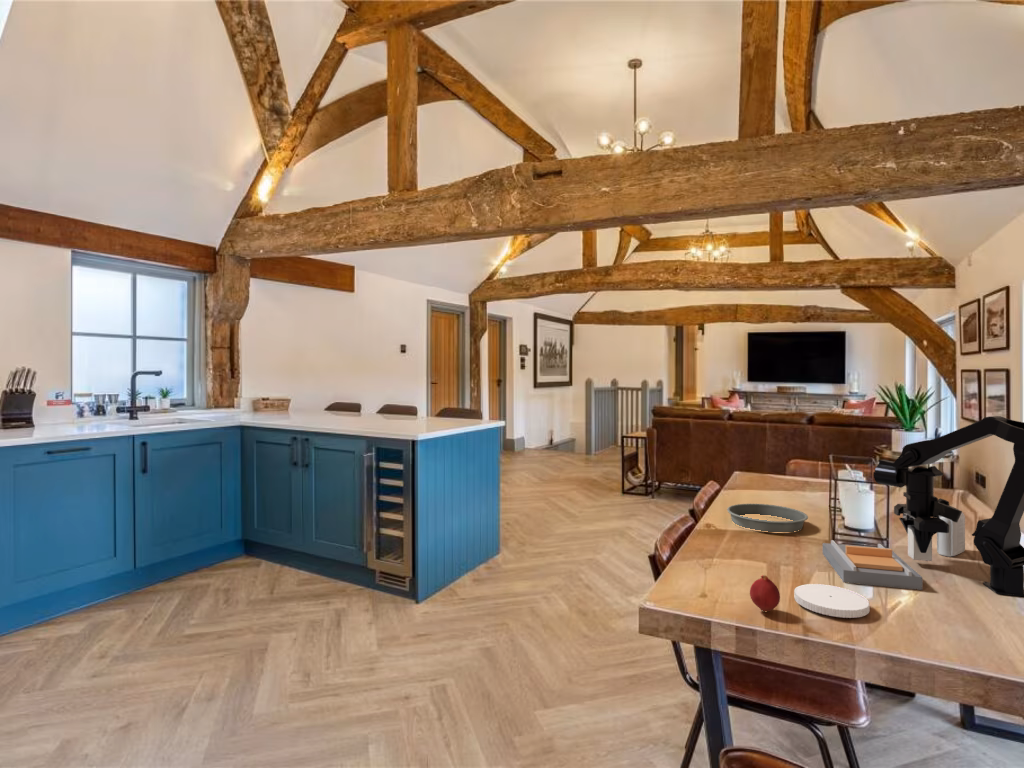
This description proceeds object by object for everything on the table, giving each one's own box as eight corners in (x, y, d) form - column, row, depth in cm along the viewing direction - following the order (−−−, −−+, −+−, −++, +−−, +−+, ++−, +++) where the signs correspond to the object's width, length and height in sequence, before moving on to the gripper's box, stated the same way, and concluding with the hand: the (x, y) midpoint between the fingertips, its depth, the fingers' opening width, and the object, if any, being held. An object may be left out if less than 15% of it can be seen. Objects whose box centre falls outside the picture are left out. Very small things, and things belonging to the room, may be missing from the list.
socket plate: (922, 590, 124) (922, 572, 124) (843, 582, 129) (843, 566, 129) (889, 559, 145) (889, 544, 145) (822, 553, 150) (822, 539, 150)
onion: (754, 603, 118) (754, 567, 118) (783, 610, 115) (782, 573, 114) (746, 612, 114) (746, 575, 114) (776, 620, 110) (776, 581, 110)
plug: (932, 561, 138) (932, 530, 138) (913, 559, 139) (913, 529, 139) (925, 556, 142) (925, 526, 142) (907, 554, 143) (907, 525, 143)
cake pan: (815, 538, 165) (815, 524, 165) (729, 532, 173) (729, 518, 173) (800, 518, 188) (800, 505, 188) (725, 513, 196) (725, 501, 196)
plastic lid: (781, 596, 123) (781, 585, 123) (839, 593, 124) (839, 582, 124) (820, 624, 109) (820, 611, 109) (886, 621, 110) (886, 608, 110)
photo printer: (948, 547, 155) (948, 504, 154) (967, 551, 151) (967, 507, 151) (934, 554, 149) (934, 509, 149) (953, 558, 145) (953, 513, 145)
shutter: (902, 571, 128) (902, 559, 128) (854, 567, 131) (854, 555, 131) (890, 560, 136) (890, 548, 135) (845, 556, 139) (845, 545, 139)
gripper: (975, 500, 129) (975, 565, 129) (941, 485, 147) (941, 542, 147) (920, 497, 132) (920, 560, 133) (893, 483, 150) (893, 538, 150)
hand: (919, 550), depth 140 cm, fingers closed on plug, 4 cm apart
